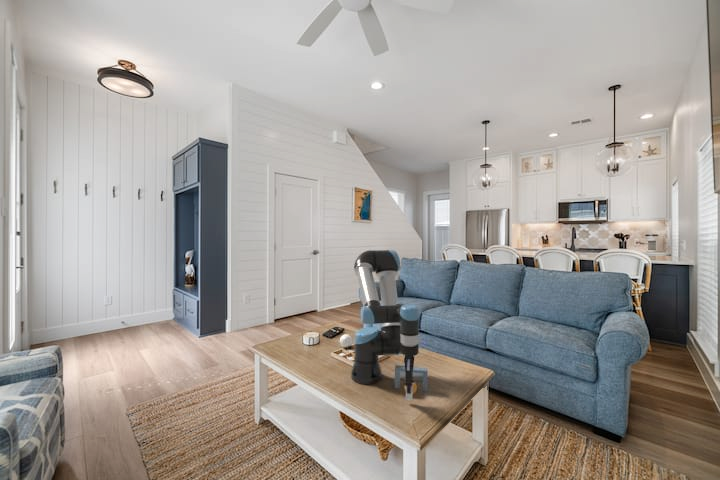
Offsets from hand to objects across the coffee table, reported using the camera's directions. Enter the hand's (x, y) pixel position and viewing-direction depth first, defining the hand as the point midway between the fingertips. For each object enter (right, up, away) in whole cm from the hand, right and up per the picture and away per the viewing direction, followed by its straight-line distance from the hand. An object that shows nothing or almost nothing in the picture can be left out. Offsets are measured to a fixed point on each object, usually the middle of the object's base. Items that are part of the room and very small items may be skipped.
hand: (409, 399), depth 128 cm
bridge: (+3, -1, +13) cm, 13 cm away
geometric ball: (-29, 0, +62) cm, 68 cm away
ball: (+2, +1, +8) cm, 8 cm away
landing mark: (+6, -1, +26) cm, 27 cm away
